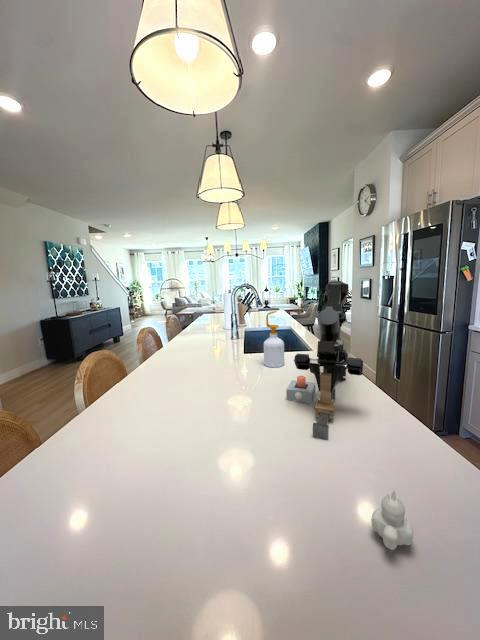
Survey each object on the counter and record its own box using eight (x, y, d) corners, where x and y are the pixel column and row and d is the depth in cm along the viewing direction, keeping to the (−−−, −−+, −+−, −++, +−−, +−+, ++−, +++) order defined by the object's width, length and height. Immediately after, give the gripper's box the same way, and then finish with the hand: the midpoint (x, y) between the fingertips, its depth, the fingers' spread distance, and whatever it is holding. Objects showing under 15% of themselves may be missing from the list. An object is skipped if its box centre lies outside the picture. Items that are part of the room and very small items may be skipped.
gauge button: (297, 385, 90) (297, 375, 89) (306, 386, 89) (306, 376, 88) (296, 389, 87) (296, 378, 87) (304, 390, 86) (304, 379, 86)
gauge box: (292, 389, 94) (291, 380, 93) (315, 392, 90) (315, 382, 90) (286, 399, 86) (286, 389, 86) (311, 403, 83) (311, 392, 82)
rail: (323, 396, 87) (323, 387, 87) (335, 398, 86) (335, 388, 85) (312, 436, 66) (312, 425, 66) (327, 439, 65) (328, 427, 64)
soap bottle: (283, 368, 115) (283, 311, 111) (262, 367, 117) (261, 312, 113) (284, 361, 124) (283, 309, 120) (265, 361, 126) (263, 309, 122)
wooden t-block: (317, 407, 78) (317, 372, 76) (334, 409, 76) (335, 374, 75) (314, 416, 73) (315, 379, 72) (333, 419, 71) (333, 381, 70)
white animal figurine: (412, 531, 41) (416, 485, 40) (411, 570, 36) (415, 519, 35) (374, 515, 44) (376, 472, 43) (367, 549, 39) (369, 501, 38)
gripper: (295, 327, 80) (286, 375, 71) (364, 330, 72) (363, 384, 64) (300, 346, 88) (293, 391, 80) (362, 350, 80) (361, 400, 72)
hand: (325, 391), depth 74 cm, fingers closed on wooden t-block, 3 cm apart
